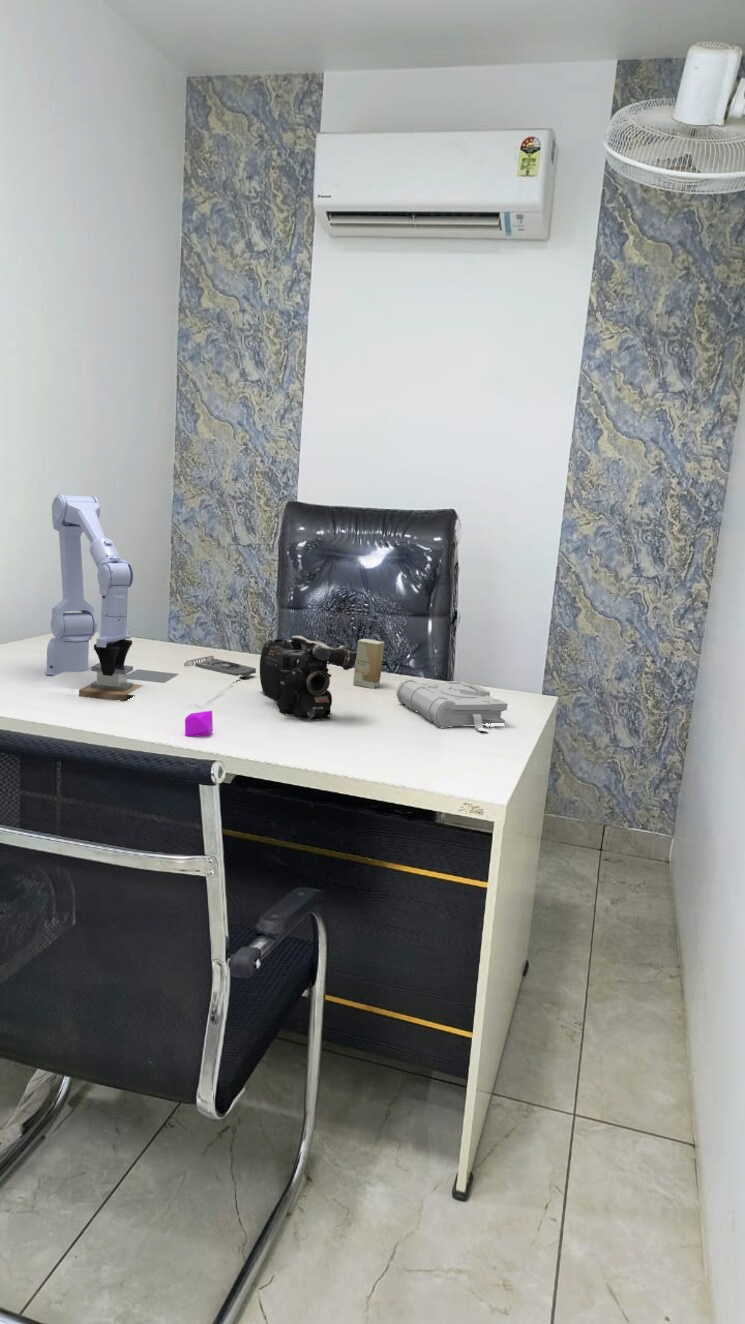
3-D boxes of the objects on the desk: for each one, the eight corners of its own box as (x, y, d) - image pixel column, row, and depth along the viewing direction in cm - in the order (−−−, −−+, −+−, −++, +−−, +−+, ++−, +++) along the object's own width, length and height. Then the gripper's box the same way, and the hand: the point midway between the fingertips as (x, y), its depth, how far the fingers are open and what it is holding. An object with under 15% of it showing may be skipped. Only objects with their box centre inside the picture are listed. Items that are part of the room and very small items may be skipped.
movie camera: (365, 718, 210) (367, 642, 207) (294, 726, 201) (294, 647, 198) (305, 691, 236) (306, 623, 233) (240, 697, 228) (239, 627, 224)
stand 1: (78, 696, 211) (79, 689, 210) (99, 686, 221) (99, 680, 221) (125, 701, 209) (125, 695, 209) (143, 691, 220) (143, 685, 220)
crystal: (188, 729, 192) (189, 708, 191) (214, 732, 192) (215, 710, 191) (182, 736, 187) (183, 714, 186) (209, 739, 187) (210, 717, 186)
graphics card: (181, 660, 244) (211, 654, 254) (180, 674, 244) (211, 667, 254) (230, 672, 235) (259, 665, 245) (229, 687, 236) (259, 679, 246)
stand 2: (120, 683, 225) (120, 677, 225) (137, 674, 236) (137, 669, 236) (163, 688, 224) (164, 682, 224) (179, 679, 235) (179, 673, 234)
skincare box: (352, 685, 246) (356, 640, 243) (358, 682, 249) (362, 637, 247) (374, 689, 243) (378, 643, 241) (380, 686, 247) (384, 641, 245)
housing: (90, 687, 213) (91, 666, 212) (99, 683, 218) (100, 662, 217) (124, 691, 212) (124, 670, 211) (132, 687, 217) (133, 666, 216)
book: (444, 736, 205) (448, 702, 203) (393, 704, 230) (396, 674, 229) (519, 735, 212) (523, 703, 211) (461, 704, 238) (465, 675, 236)
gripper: (118, 621, 204) (116, 681, 207) (142, 612, 218) (140, 668, 221) (88, 617, 205) (86, 677, 208) (114, 609, 219) (112, 665, 222)
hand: (112, 672), depth 214 cm, fingers open, 5 cm apart
